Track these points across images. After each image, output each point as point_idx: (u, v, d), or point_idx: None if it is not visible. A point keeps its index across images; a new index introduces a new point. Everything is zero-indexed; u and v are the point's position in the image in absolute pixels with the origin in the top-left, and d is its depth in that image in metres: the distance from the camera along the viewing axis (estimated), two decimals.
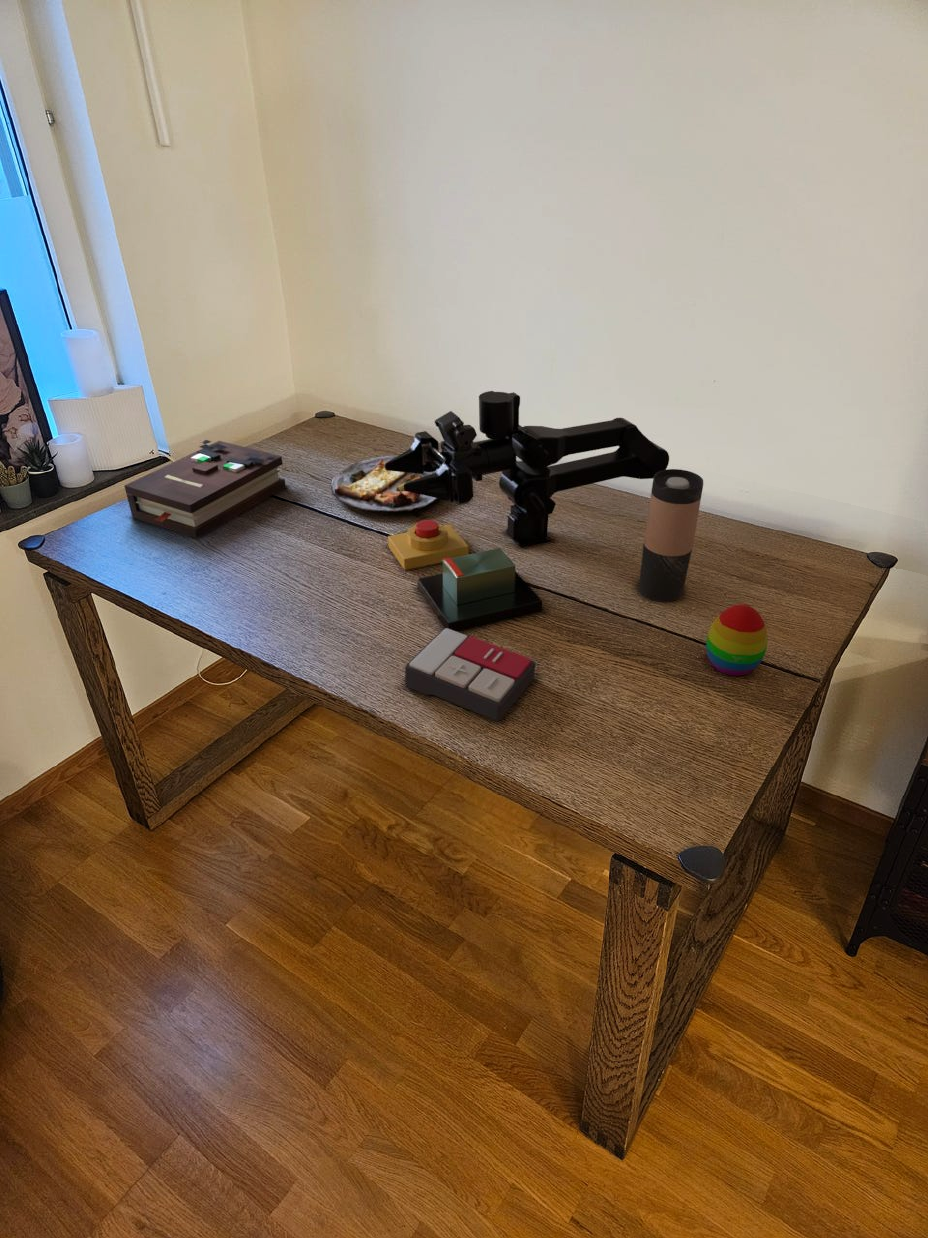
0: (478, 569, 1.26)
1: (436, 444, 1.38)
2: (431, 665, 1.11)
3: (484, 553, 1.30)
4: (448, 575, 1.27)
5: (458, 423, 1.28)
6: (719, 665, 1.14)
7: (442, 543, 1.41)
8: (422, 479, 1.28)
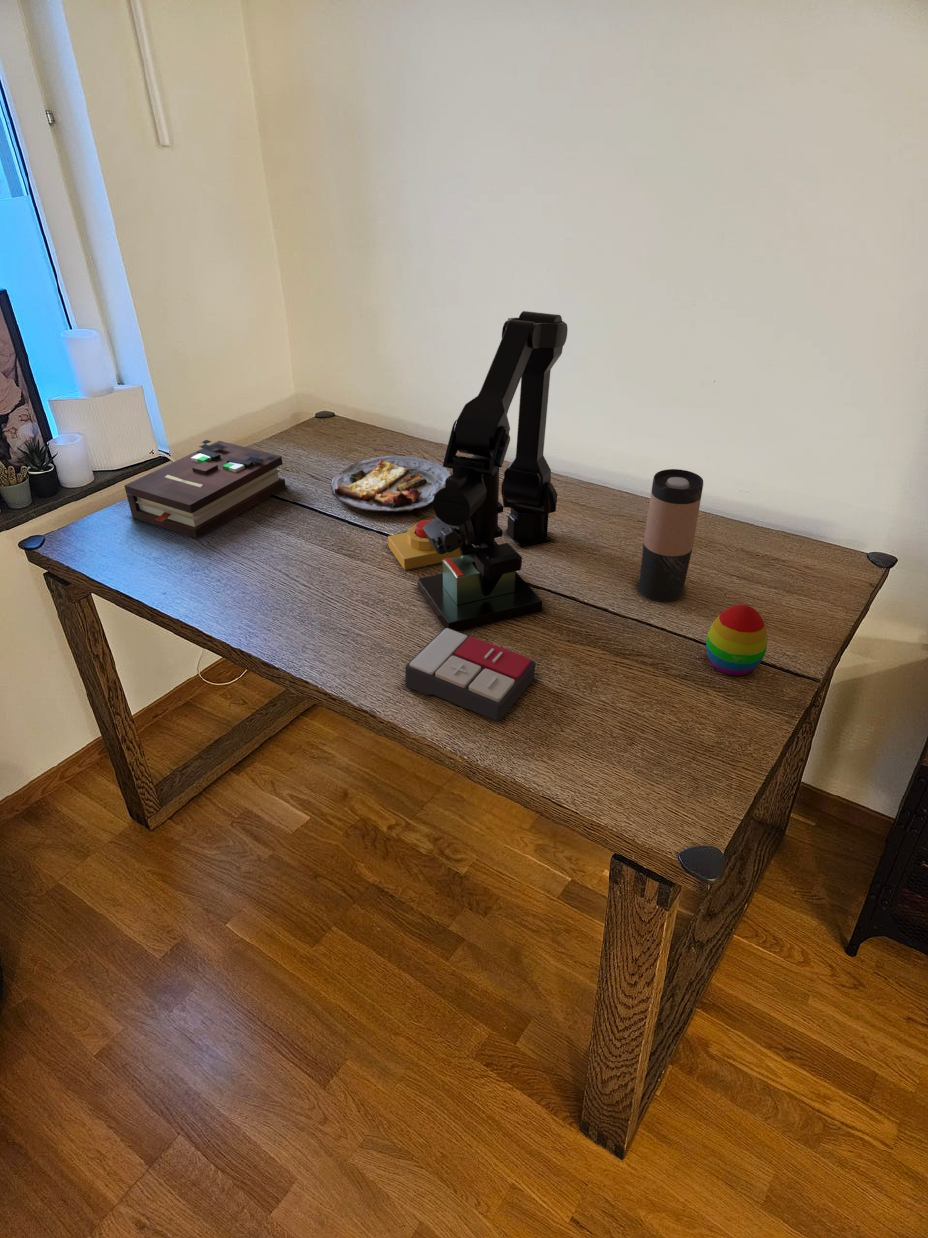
0: None
1: None
2: (431, 665, 1.11)
3: None
4: (448, 575, 1.27)
5: (437, 545, 1.19)
6: (719, 665, 1.14)
7: None
8: (483, 583, 1.25)
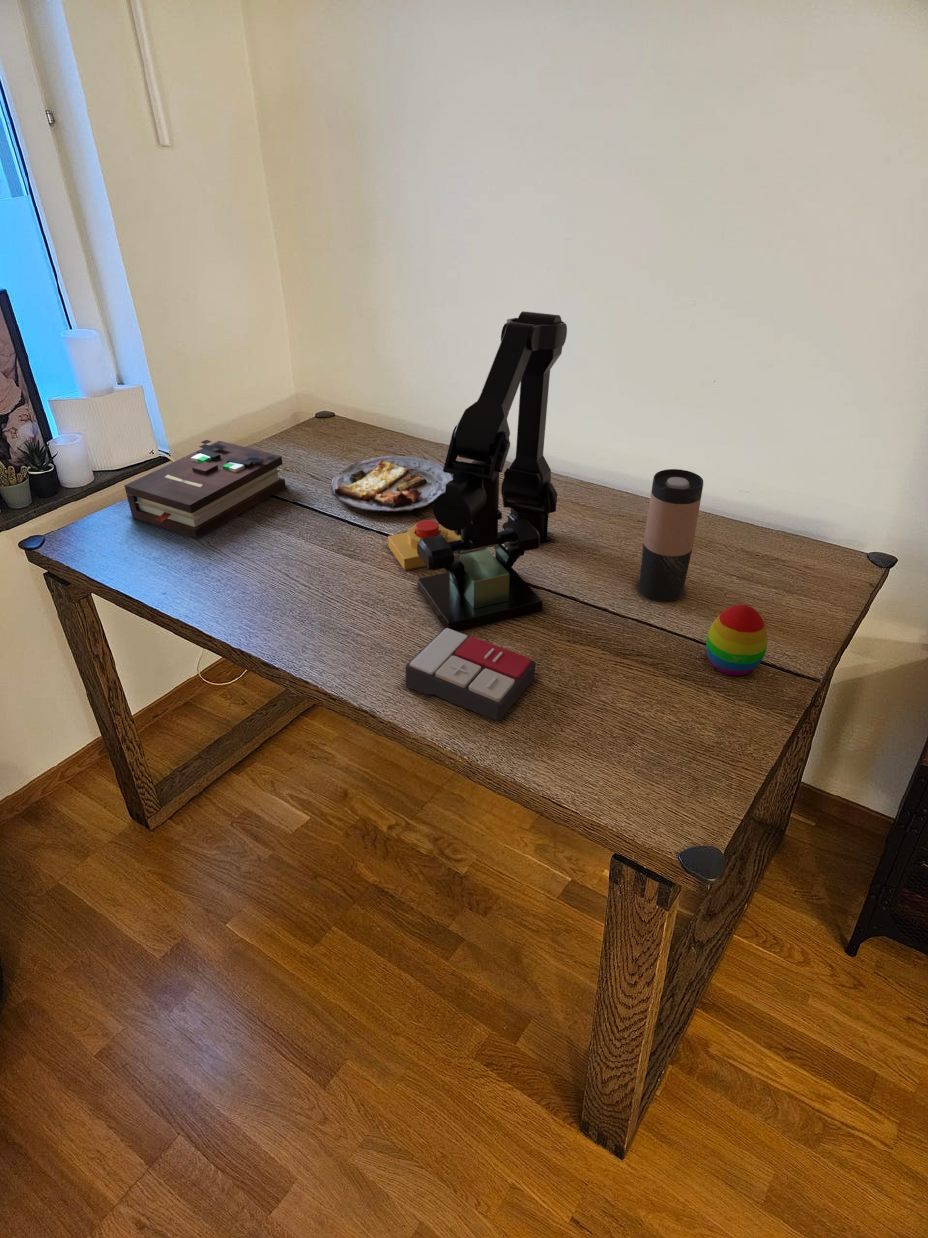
0: (465, 561, 1.28)
1: (506, 525, 1.28)
2: (431, 665, 1.11)
3: (497, 565, 1.27)
4: None
5: None
6: (719, 665, 1.14)
7: None
8: None
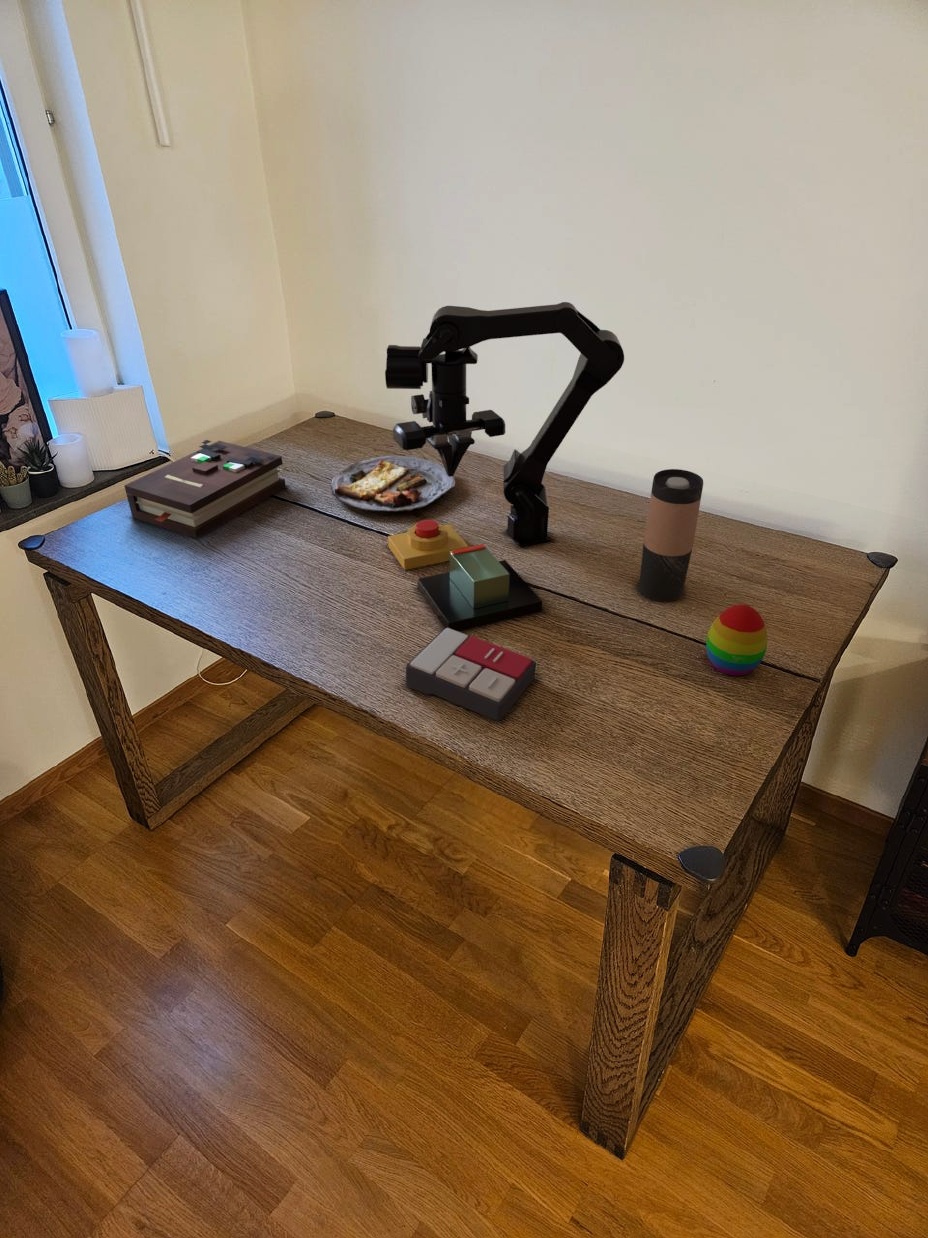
0: (465, 561, 1.28)
1: (474, 414, 1.40)
2: (432, 664, 1.11)
3: (497, 565, 1.27)
4: None
5: None
6: (719, 665, 1.14)
7: (442, 543, 1.41)
8: (442, 458, 1.42)
